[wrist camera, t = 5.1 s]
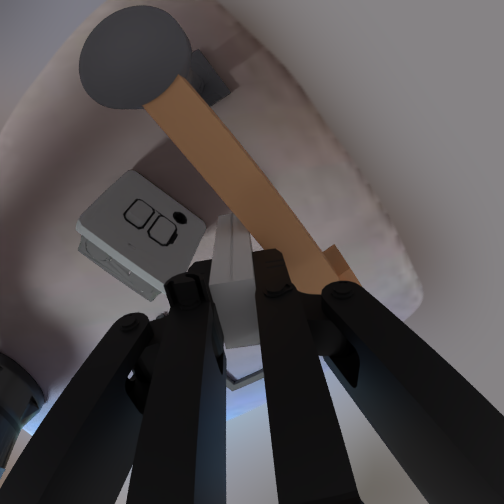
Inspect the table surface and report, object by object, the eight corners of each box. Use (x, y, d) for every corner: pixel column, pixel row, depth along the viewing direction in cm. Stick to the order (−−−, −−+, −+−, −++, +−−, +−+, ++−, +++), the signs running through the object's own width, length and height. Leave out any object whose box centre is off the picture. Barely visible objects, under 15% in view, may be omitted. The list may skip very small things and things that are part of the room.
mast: (184, 124, 25) (131, 137, 13) (153, 83, 23) (78, 62, 11) (230, 92, 24) (222, 70, 11) (199, 50, 22) (162, -5, 10)
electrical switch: (209, 223, 29) (190, 278, 21) (180, 258, 31) (155, 318, 23) (132, 166, 27) (83, 201, 19) (108, 206, 29) (60, 251, 21)
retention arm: (96, 69, 12) (61, 62, 9) (162, 11, 11) (142, -13, 8) (293, 300, 18) (304, 338, 15) (356, 258, 17) (379, 290, 14)
